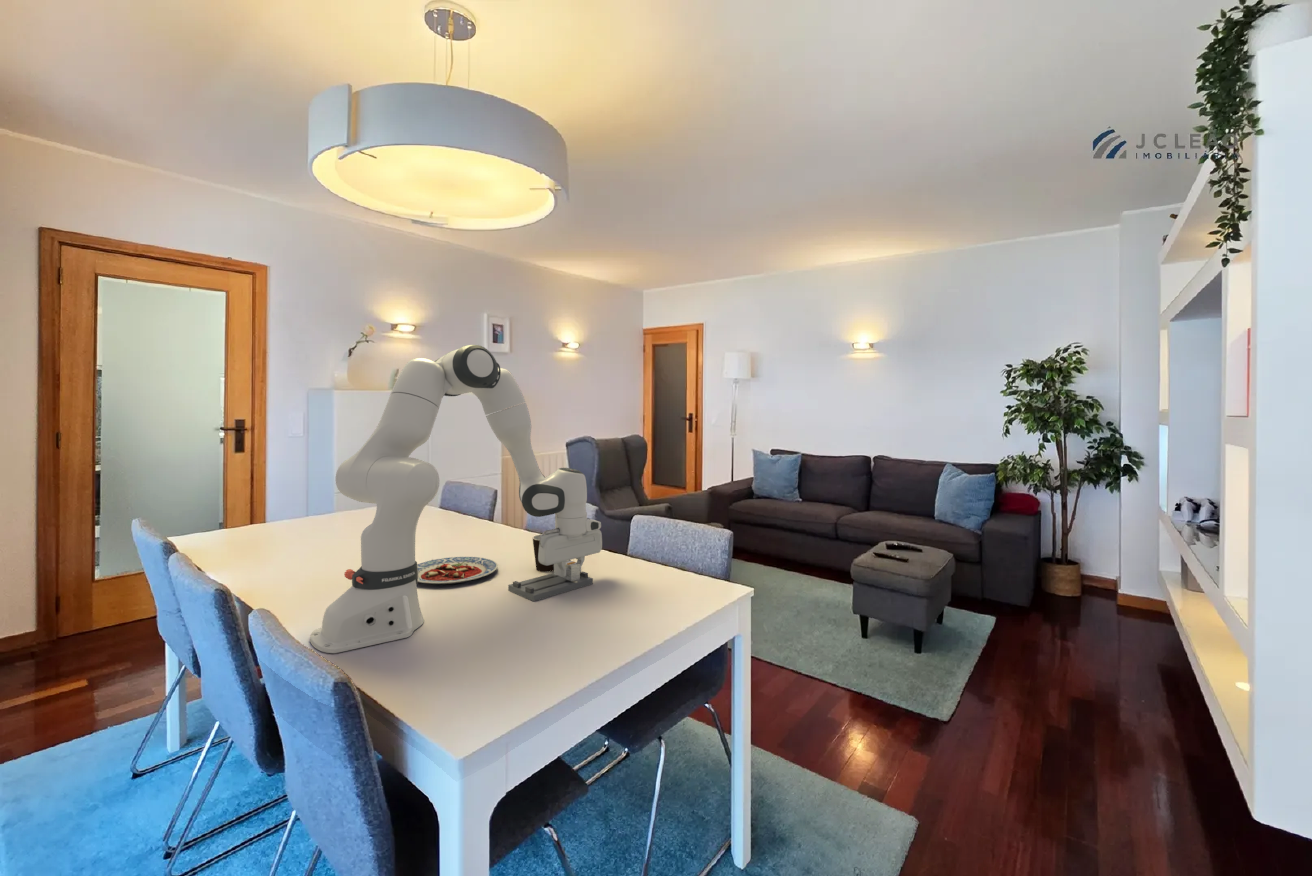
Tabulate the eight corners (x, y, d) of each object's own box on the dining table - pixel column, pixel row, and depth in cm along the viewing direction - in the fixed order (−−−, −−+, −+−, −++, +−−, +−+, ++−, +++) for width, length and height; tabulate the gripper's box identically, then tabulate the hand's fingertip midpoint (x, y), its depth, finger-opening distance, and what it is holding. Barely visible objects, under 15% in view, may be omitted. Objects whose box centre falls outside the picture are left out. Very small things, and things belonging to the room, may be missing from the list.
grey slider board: (533, 601, 141) (533, 578, 141) (508, 590, 150) (508, 569, 149) (592, 583, 156) (592, 563, 156) (566, 574, 164) (566, 555, 164)
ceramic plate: (469, 593, 148) (468, 582, 148) (385, 586, 153) (385, 575, 153) (512, 566, 173) (512, 557, 173) (439, 561, 178) (439, 551, 178)
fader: (571, 581, 152) (571, 565, 151) (562, 578, 154) (562, 562, 154) (579, 579, 154) (579, 562, 153) (570, 575, 156) (571, 560, 156)
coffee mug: (527, 571, 167) (527, 539, 167) (541, 563, 175) (541, 533, 175) (561, 575, 164) (561, 542, 163) (574, 567, 172) (574, 535, 172)
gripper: (547, 533, 143) (547, 585, 144) (605, 522, 158) (605, 568, 159) (533, 529, 148) (533, 579, 148) (591, 518, 163) (591, 564, 163)
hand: (571, 574), depth 154 cm, fingers closed on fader, 3 cm apart
